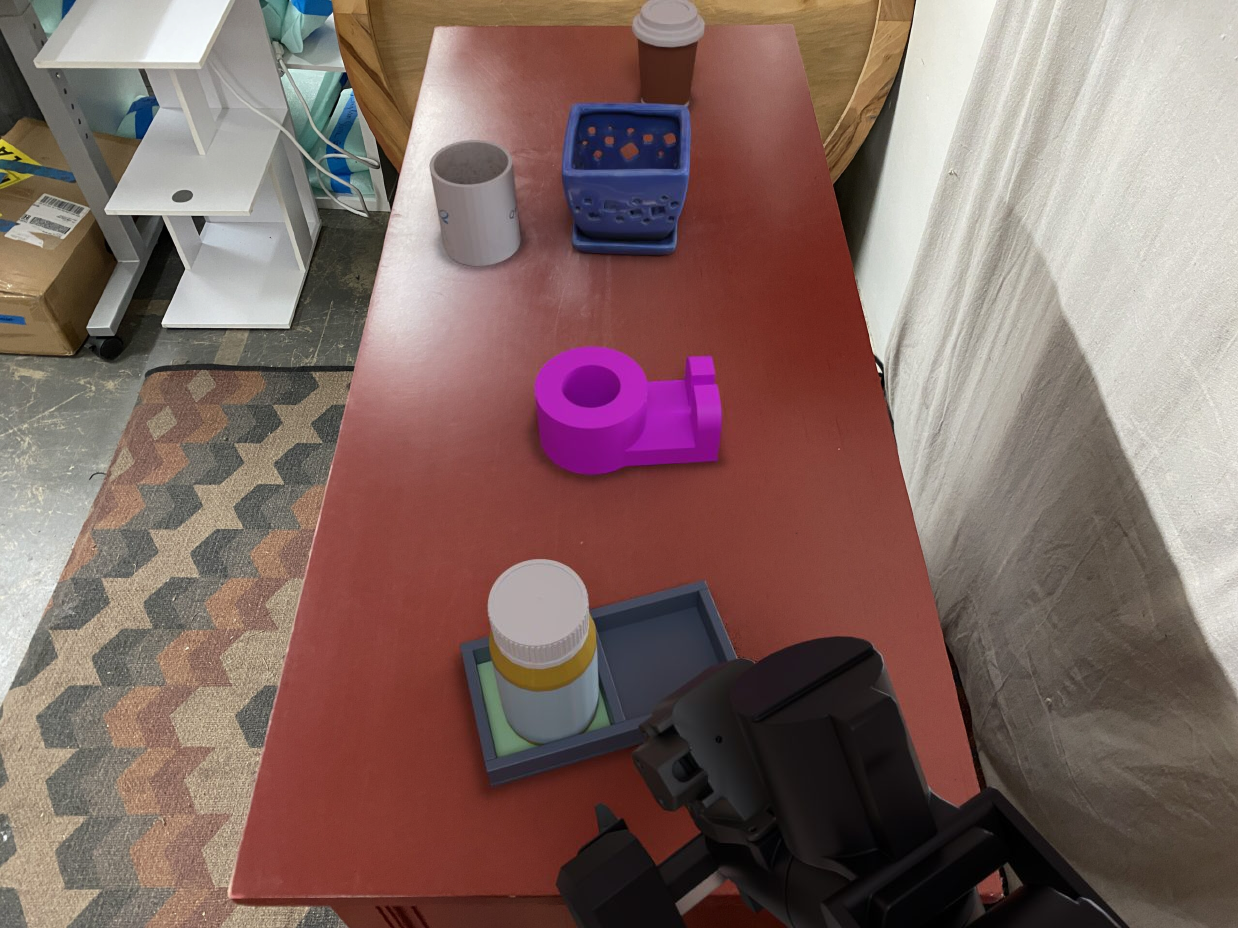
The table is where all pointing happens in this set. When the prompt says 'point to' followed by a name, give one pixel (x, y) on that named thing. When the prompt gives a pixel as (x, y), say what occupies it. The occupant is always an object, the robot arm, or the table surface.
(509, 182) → the mug
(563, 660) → the bottle
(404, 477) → the table surface
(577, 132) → the flower pot
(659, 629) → the blue-grey divided tray
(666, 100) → the coffee cup
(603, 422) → the tape dispenser
